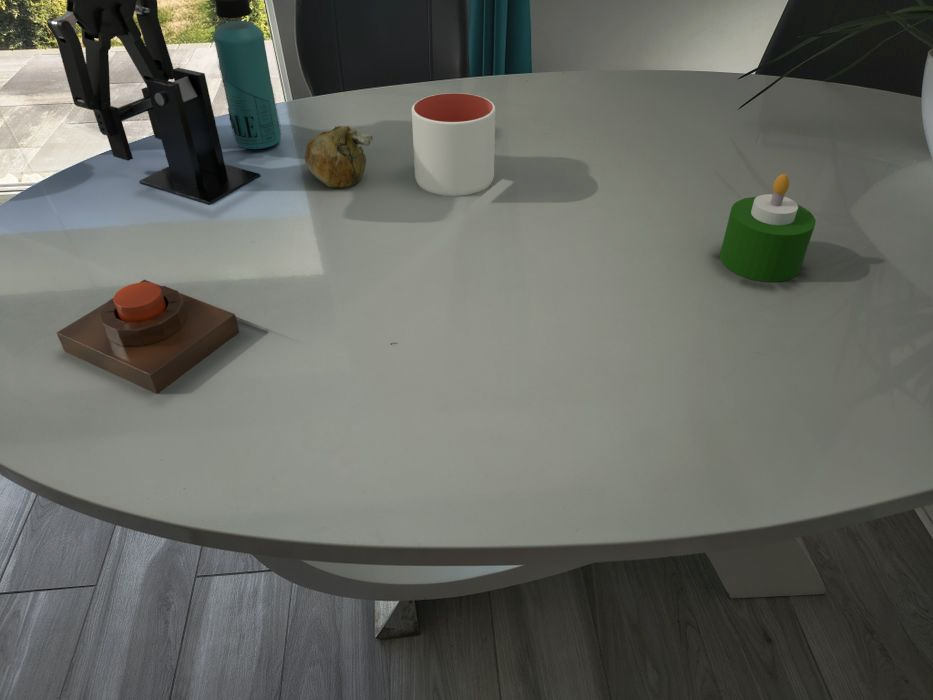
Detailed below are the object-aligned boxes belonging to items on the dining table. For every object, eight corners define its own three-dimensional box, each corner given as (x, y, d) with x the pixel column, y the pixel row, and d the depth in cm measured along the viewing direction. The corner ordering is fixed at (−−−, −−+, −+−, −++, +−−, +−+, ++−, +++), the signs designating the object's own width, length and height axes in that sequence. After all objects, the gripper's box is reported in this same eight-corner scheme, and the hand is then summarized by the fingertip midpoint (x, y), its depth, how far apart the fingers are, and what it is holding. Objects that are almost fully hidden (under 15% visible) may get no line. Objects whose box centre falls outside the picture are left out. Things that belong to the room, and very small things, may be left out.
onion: (352, 165, 98) (346, 106, 93) (380, 188, 93) (375, 127, 88) (299, 179, 95) (290, 119, 90) (324, 203, 90) (316, 140, 85)
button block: (64, 351, 67) (48, 316, 64) (150, 297, 74) (139, 263, 71) (157, 394, 62) (144, 358, 60) (239, 332, 69) (231, 297, 67)
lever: (115, 127, 91) (105, 108, 90) (153, 112, 95) (143, 93, 94) (171, 107, 84) (160, 86, 83) (209, 91, 88) (199, 71, 87)
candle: (785, 290, 74) (814, 201, 68) (707, 264, 78) (728, 178, 72) (810, 257, 79) (839, 170, 73) (736, 234, 83) (758, 150, 77)
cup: (444, 210, 88) (442, 129, 82) (400, 180, 94) (395, 104, 88) (509, 188, 93) (512, 110, 86) (463, 161, 99) (462, 87, 93)
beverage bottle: (287, 140, 105) (262, -12, 92) (280, 159, 100) (253, 1, 87) (240, 141, 104) (209, -11, 92) (232, 161, 99) (197, 2, 87)
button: (109, 315, 65) (103, 299, 64) (144, 293, 68) (139, 277, 67) (140, 328, 64) (134, 312, 63) (175, 305, 66) (170, 289, 65)
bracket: (141, 189, 93) (107, 79, 84) (194, 163, 99) (168, 57, 90) (211, 211, 88) (183, 97, 79) (262, 182, 94) (241, 73, 86)
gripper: (30, -33, 73) (103, 182, 87) (176, -63, 86) (218, 128, 100) (-16, -40, 76) (61, 169, 90) (131, -69, 89) (179, 118, 103)
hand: (144, 147), depth 95 cm, fingers closed on lever, 6 cm apart
